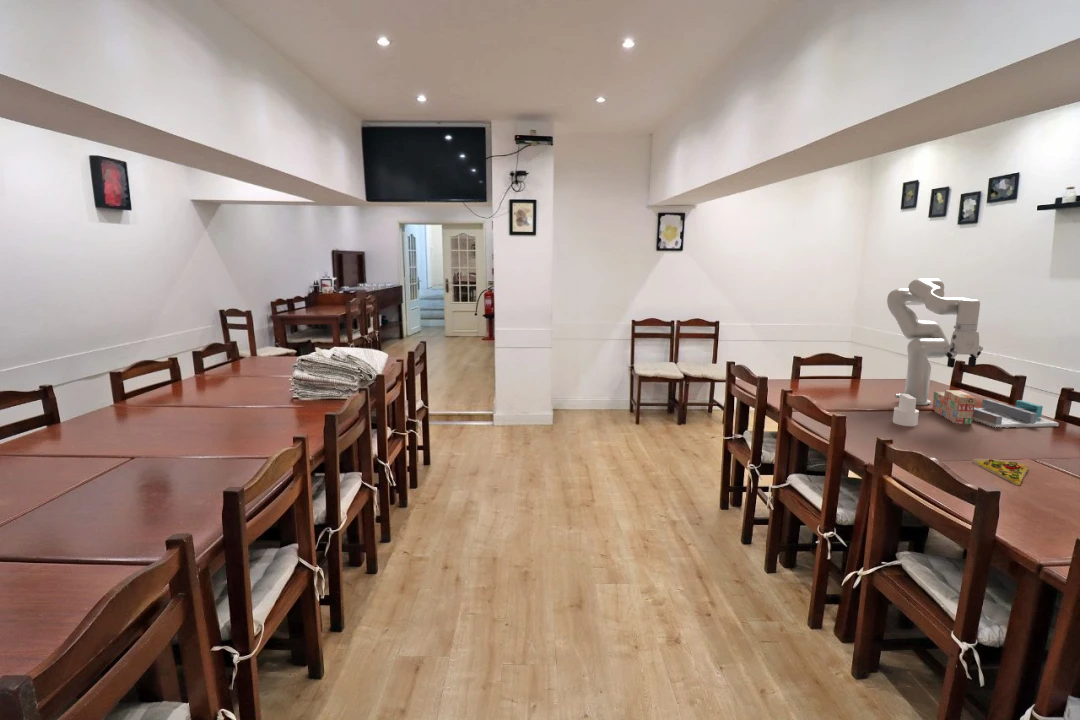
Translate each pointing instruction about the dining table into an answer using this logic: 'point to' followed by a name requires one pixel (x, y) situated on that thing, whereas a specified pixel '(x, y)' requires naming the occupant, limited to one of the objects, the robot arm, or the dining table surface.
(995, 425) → the base
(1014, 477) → the pizza slice
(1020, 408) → the sliding jaw
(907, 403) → the base with upright slab
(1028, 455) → the dining table surface
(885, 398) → the dining table surface
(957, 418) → the stack of blocks
